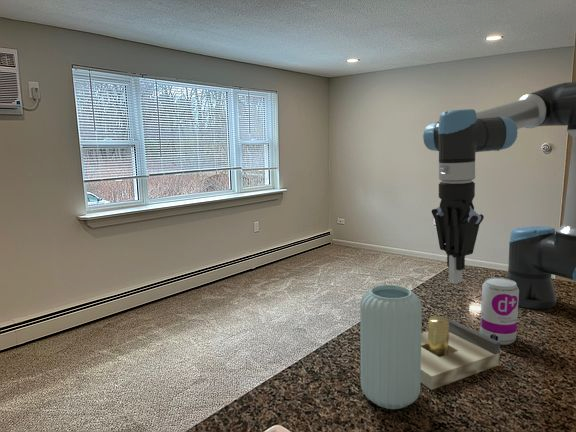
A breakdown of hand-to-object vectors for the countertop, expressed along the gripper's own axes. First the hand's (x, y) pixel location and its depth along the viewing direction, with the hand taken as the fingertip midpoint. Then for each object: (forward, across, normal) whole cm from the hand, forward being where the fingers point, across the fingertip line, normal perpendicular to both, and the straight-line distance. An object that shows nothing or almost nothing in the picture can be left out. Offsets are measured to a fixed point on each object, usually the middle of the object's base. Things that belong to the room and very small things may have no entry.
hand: (455, 281), depth 98 cm
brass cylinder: (+17, +1, -7) cm, 19 cm away
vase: (+17, +7, -25) cm, 31 cm away
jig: (+17, +1, -6) cm, 19 cm away
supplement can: (+18, 0, +15) cm, 23 cm away
